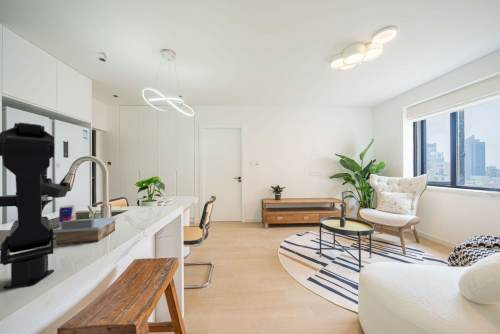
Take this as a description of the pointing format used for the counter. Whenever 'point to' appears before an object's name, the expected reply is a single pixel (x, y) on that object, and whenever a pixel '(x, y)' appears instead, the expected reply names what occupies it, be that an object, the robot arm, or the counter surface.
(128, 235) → the counter surface
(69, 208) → the energy drink
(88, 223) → the lid
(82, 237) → the box
